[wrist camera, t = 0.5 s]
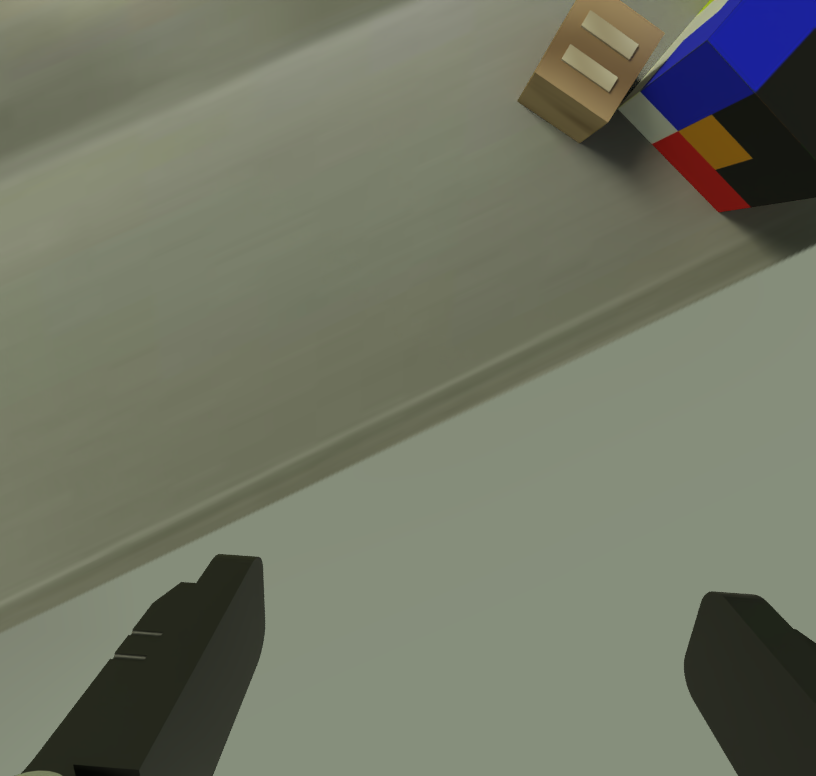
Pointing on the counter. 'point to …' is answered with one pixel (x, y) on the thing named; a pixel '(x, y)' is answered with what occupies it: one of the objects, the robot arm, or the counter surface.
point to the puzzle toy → (737, 103)
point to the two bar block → (590, 66)
